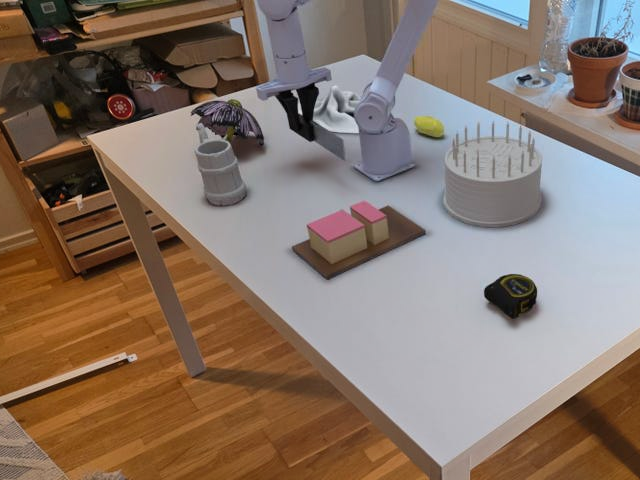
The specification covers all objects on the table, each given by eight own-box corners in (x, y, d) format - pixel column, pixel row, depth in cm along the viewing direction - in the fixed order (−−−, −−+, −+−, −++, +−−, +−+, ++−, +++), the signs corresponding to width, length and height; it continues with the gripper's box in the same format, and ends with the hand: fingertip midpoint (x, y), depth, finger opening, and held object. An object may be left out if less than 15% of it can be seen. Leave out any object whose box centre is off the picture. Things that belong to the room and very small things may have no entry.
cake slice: (367, 223, 114) (364, 200, 110) (389, 238, 110) (386, 215, 107) (353, 229, 112) (349, 206, 109) (374, 245, 108) (371, 221, 105)
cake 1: (346, 232, 112) (342, 209, 108) (367, 248, 108) (364, 224, 105) (311, 247, 108) (306, 224, 105) (331, 264, 105) (327, 240, 102)
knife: (298, 126, 129) (294, 106, 126) (350, 158, 118) (347, 137, 115) (289, 128, 128) (285, 108, 125) (340, 162, 117) (337, 141, 114)
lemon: (435, 142, 137) (434, 125, 135) (409, 132, 142) (408, 114, 139) (449, 136, 140) (448, 118, 137) (423, 125, 144) (422, 108, 141)
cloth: (278, 113, 150) (272, 87, 146) (341, 90, 160) (338, 64, 155) (337, 142, 139) (332, 114, 134) (401, 115, 148) (399, 88, 144)
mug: (213, 211, 119) (194, 149, 111) (194, 185, 127) (175, 125, 118) (253, 198, 122) (237, 137, 114) (232, 174, 130) (216, 115, 121)
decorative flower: (277, 101, 131) (202, 96, 122) (280, 161, 135) (207, 161, 126) (251, 100, 142) (180, 96, 133) (254, 156, 146) (185, 155, 137)
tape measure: (481, 302, 98) (481, 282, 95) (516, 286, 101) (518, 266, 98) (509, 326, 94) (510, 306, 91) (545, 308, 97) (547, 288, 94)
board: (388, 209, 118) (388, 205, 118) (425, 233, 112) (425, 229, 112) (292, 250, 109) (291, 246, 109) (327, 279, 103) (326, 275, 103)
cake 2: (553, 187, 122) (560, 119, 113) (520, 236, 111) (525, 163, 102) (467, 170, 128) (466, 103, 119) (426, 214, 117) (423, 144, 107)
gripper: (313, 38, 121) (324, 110, 131) (242, 57, 115) (259, 131, 124) (332, 47, 117) (343, 121, 127) (260, 67, 111) (277, 143, 120)
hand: (302, 126), depth 125 cm, fingers closed on knife, 2 cm apart
